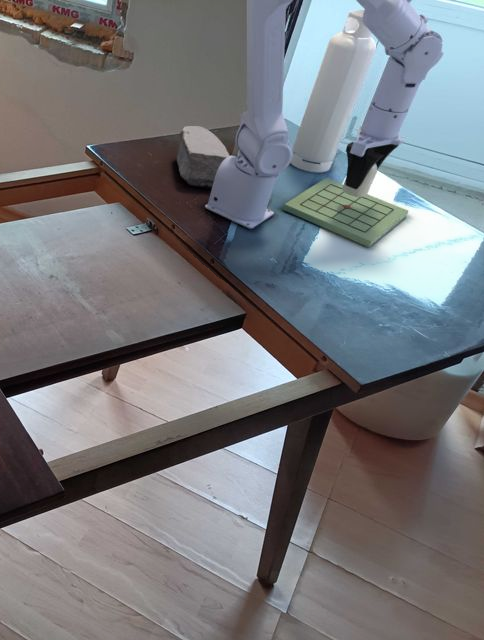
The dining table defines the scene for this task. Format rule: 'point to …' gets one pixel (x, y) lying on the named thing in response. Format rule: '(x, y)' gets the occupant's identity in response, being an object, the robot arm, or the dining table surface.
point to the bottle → (334, 95)
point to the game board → (346, 212)
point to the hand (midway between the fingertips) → (357, 182)
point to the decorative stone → (199, 156)
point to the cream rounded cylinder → (364, 186)
